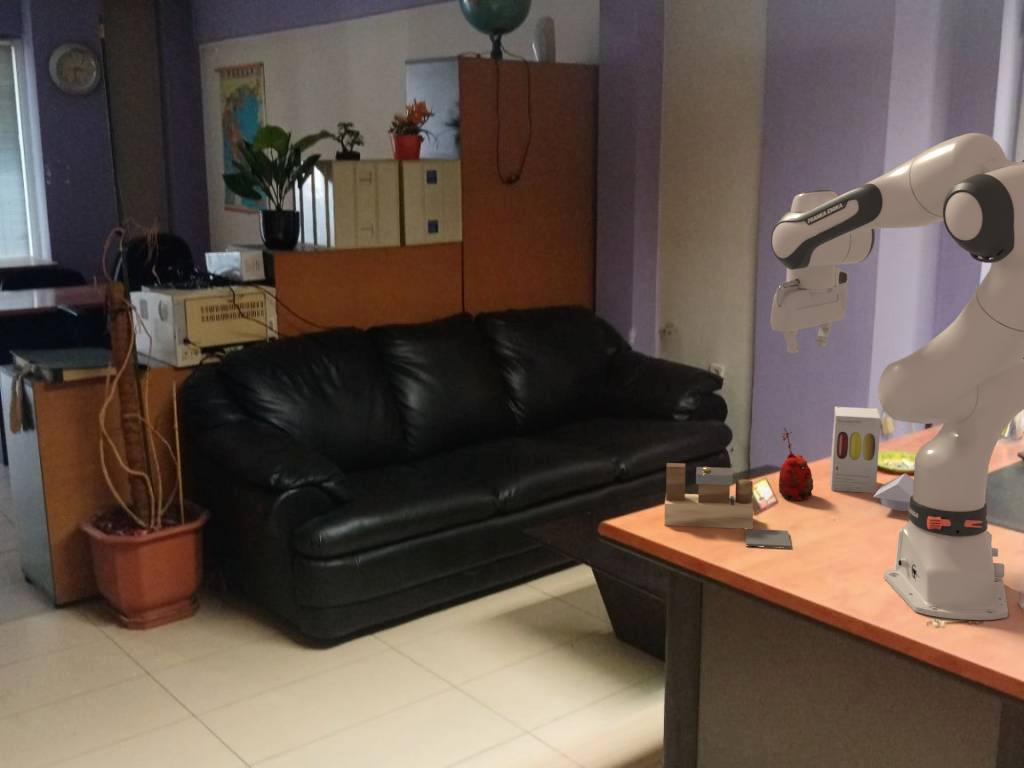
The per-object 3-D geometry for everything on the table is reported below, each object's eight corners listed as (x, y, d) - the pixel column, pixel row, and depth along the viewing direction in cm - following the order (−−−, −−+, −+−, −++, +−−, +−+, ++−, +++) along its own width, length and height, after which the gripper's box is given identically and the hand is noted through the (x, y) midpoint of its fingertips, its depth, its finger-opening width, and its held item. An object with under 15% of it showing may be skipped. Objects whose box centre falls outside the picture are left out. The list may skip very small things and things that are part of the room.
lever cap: (732, 485, 199) (732, 472, 198) (695, 484, 200) (696, 471, 200) (732, 477, 204) (732, 465, 203) (696, 476, 205) (696, 464, 204)
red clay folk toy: (806, 504, 213) (808, 434, 210) (772, 499, 216) (774, 430, 213) (816, 494, 219) (818, 426, 216) (783, 489, 223) (786, 422, 220)
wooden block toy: (752, 528, 199) (754, 472, 197) (664, 525, 202) (664, 469, 200) (751, 517, 205) (752, 462, 203) (665, 514, 209) (666, 460, 206)
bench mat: (790, 548, 189) (790, 545, 188) (746, 546, 190) (746, 543, 190) (787, 533, 196) (787, 530, 196) (745, 531, 198) (745, 528, 198)
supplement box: (830, 491, 221) (833, 415, 217) (829, 478, 230) (832, 405, 226) (877, 493, 218) (881, 417, 215) (874, 481, 227) (878, 407, 224)
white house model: (919, 519, 202) (930, 501, 213) (921, 487, 201) (932, 470, 212) (872, 513, 207) (885, 494, 218) (873, 481, 205) (887, 464, 216)
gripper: (793, 284, 184) (789, 359, 187) (854, 273, 197) (850, 343, 200) (763, 281, 189) (760, 354, 192) (825, 270, 202) (821, 339, 205)
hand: (807, 349), depth 196 cm, fingers open, 8 cm apart
